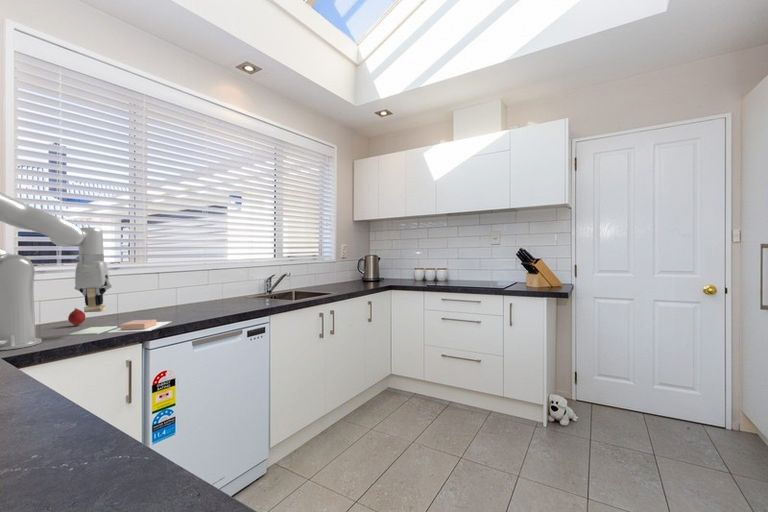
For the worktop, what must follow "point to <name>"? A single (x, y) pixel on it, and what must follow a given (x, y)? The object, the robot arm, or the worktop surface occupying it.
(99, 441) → the worktop surface
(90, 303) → the wooden block stack
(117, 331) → the mat
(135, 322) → the tile
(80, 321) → the onion
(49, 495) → the worktop surface
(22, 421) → the worktop surface
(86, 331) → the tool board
